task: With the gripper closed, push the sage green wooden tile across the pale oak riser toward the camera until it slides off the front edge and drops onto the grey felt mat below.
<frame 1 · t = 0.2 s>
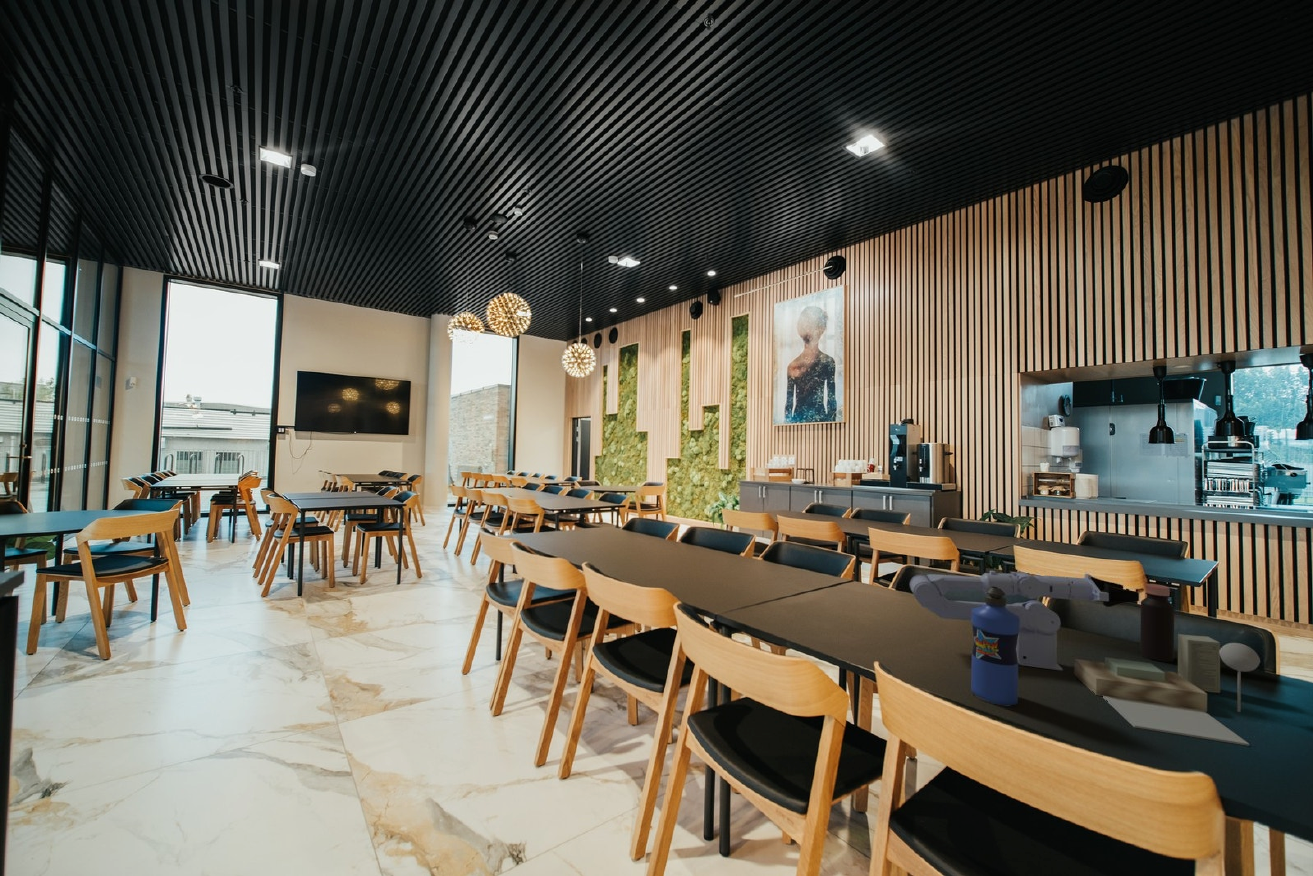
hand: (1130, 592, 134), 21 cm above the table, tool horizontal, fingers open, 7 cm apart
lollipop: (1238, 712, 116), on the table
tile: (1133, 673, 125), point 4 cm above the table, touching riser
water bottle: (993, 697, 120), on the table
riser: (1136, 692, 124), on the table
mat: (1169, 719, 112), on the table
skincare box: (1198, 688, 127), on the table
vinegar: (1156, 658, 146), on the table
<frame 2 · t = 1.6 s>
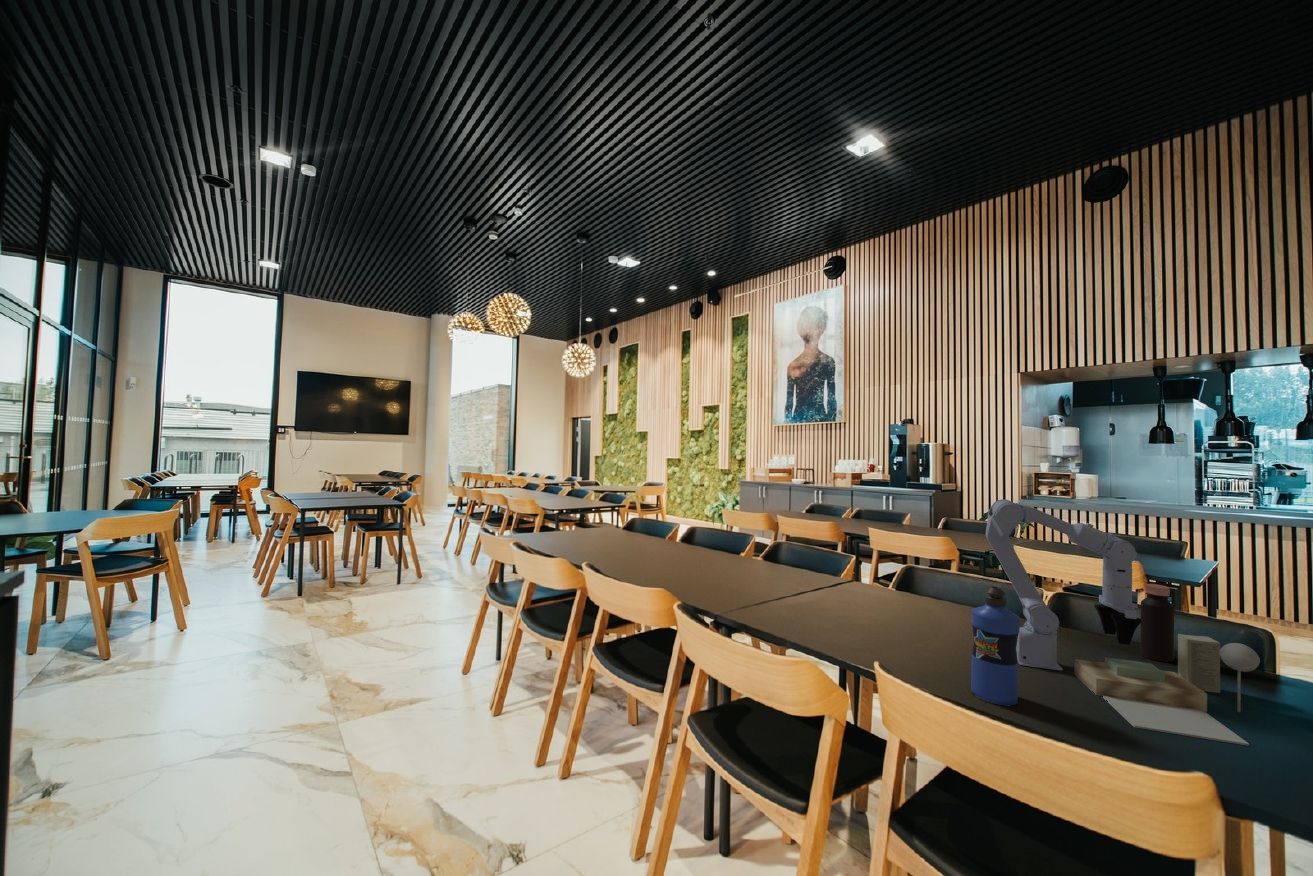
hand: (1116, 638, 133), 9 cm above the table, tool pointing down, fingers open, 7 cm apart
nothing on the table moved.
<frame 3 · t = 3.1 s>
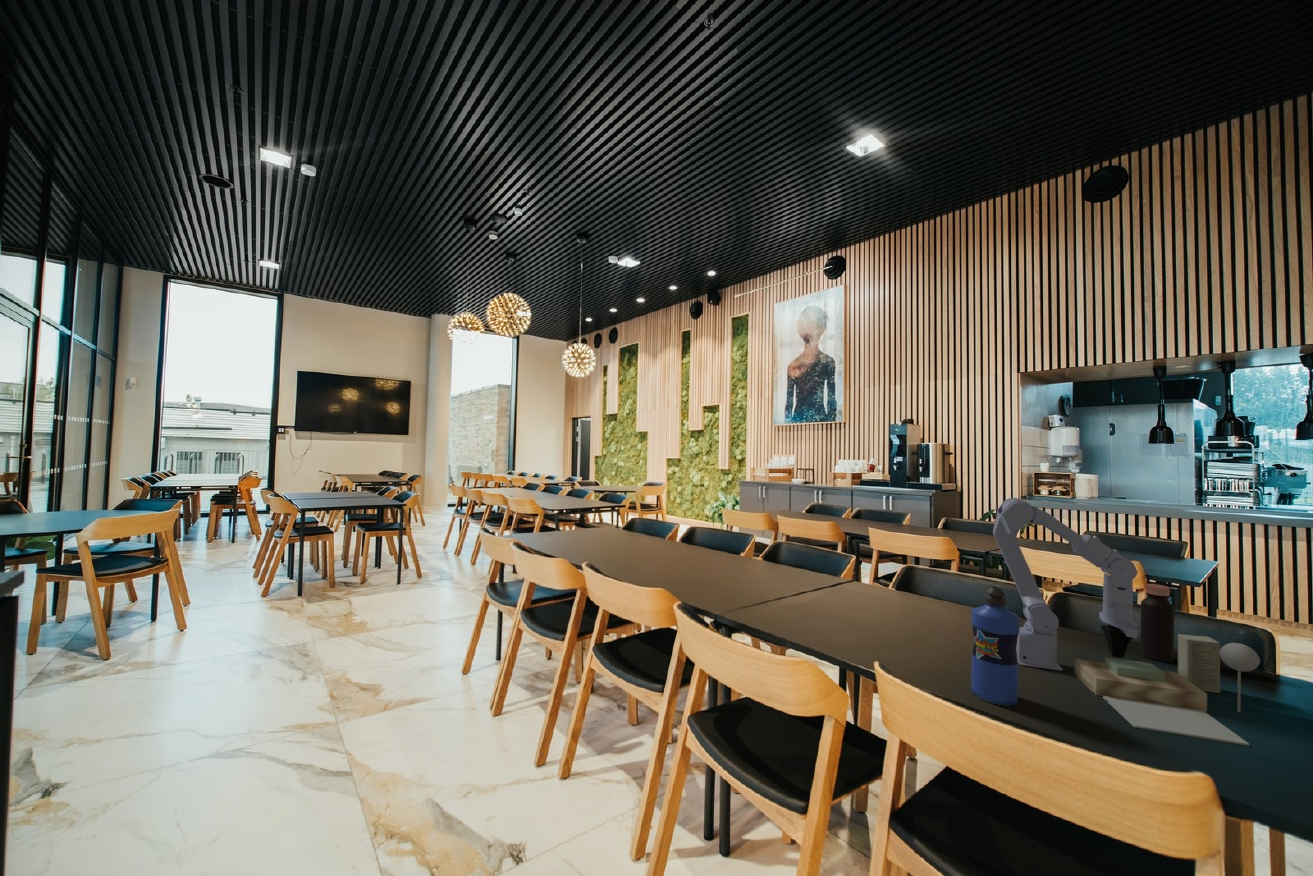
hand: (1117, 656, 133), 5 cm above the table, tool pointing down, fingers closed
nothing on the table moved.
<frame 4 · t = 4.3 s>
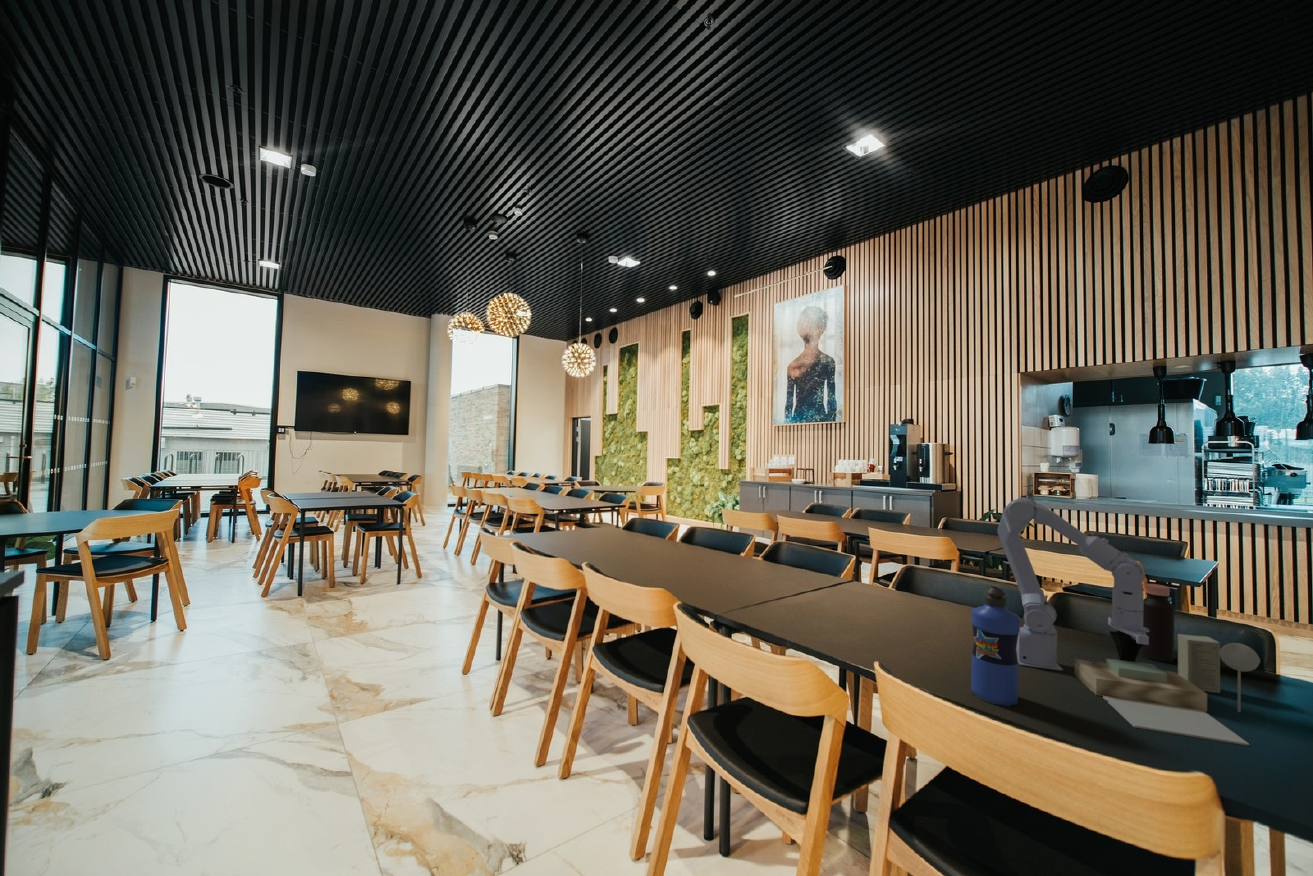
hand: (1127, 664, 128), 5 cm above the table, tool pointing down, fingers closed
tile: (1135, 674, 125), point 4 cm above the table, touching gripper, riser
everything else where it was.
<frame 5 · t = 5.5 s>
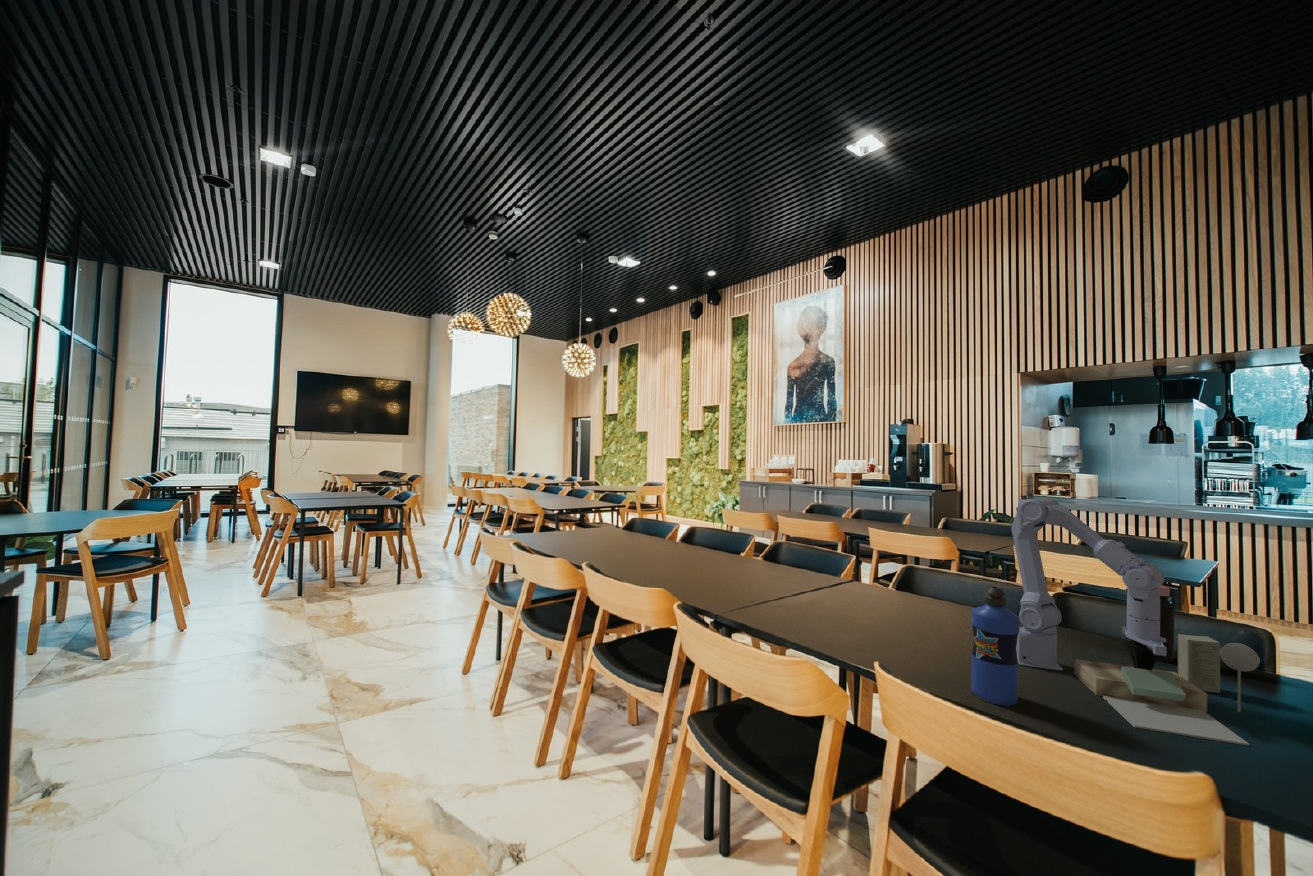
hand: (1142, 675, 122), 5 cm above the table, tool pointing down, fingers closed
tile: (1150, 686, 119), point 4 cm above the table, tilted 27°
everything else where it was.
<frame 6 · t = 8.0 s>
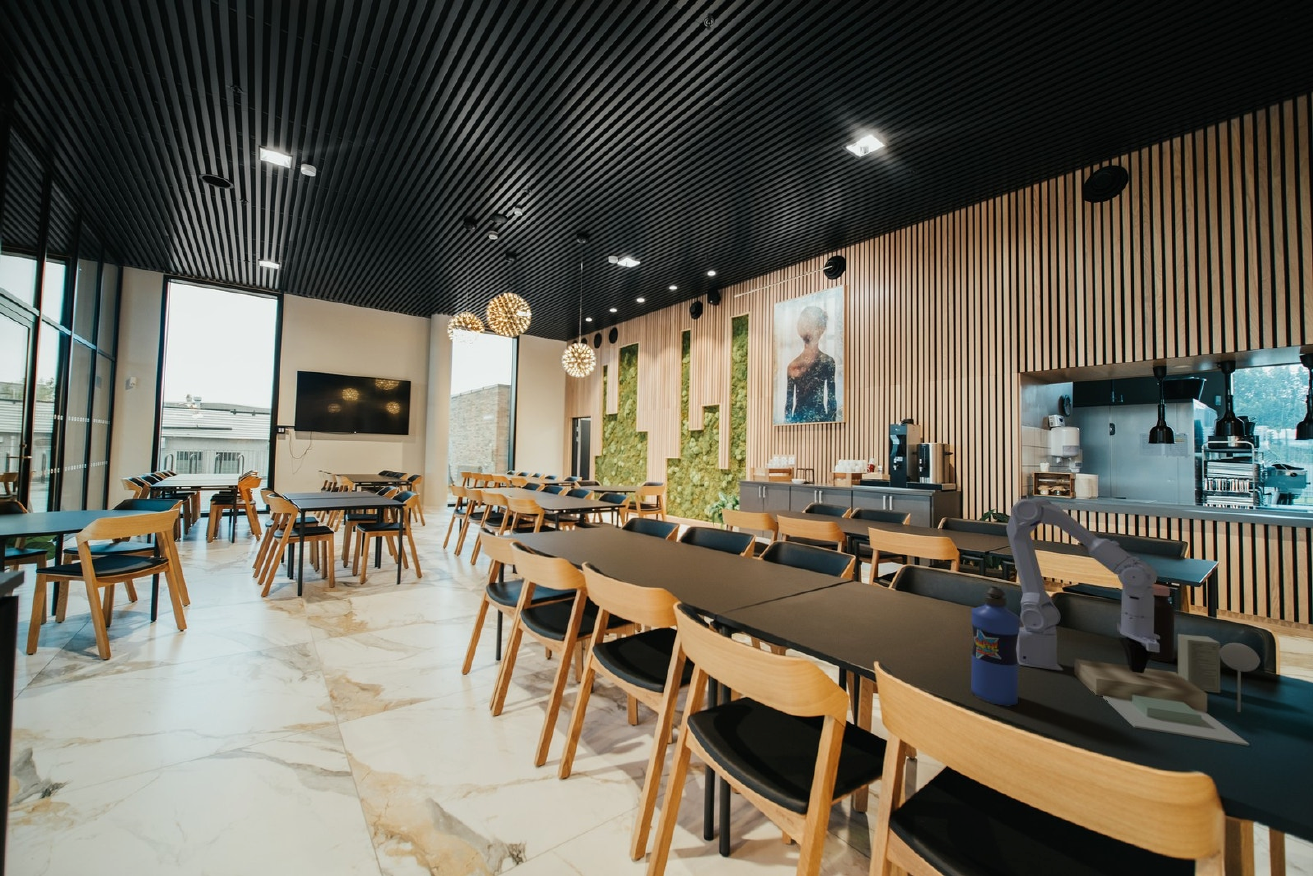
hand: (1136, 671, 124), 5 cm above the table, tool pointing down, fingers closed
tile: (1165, 705, 113), point 2 cm above the table, tilted 180°, touching mat
everything else where it was.
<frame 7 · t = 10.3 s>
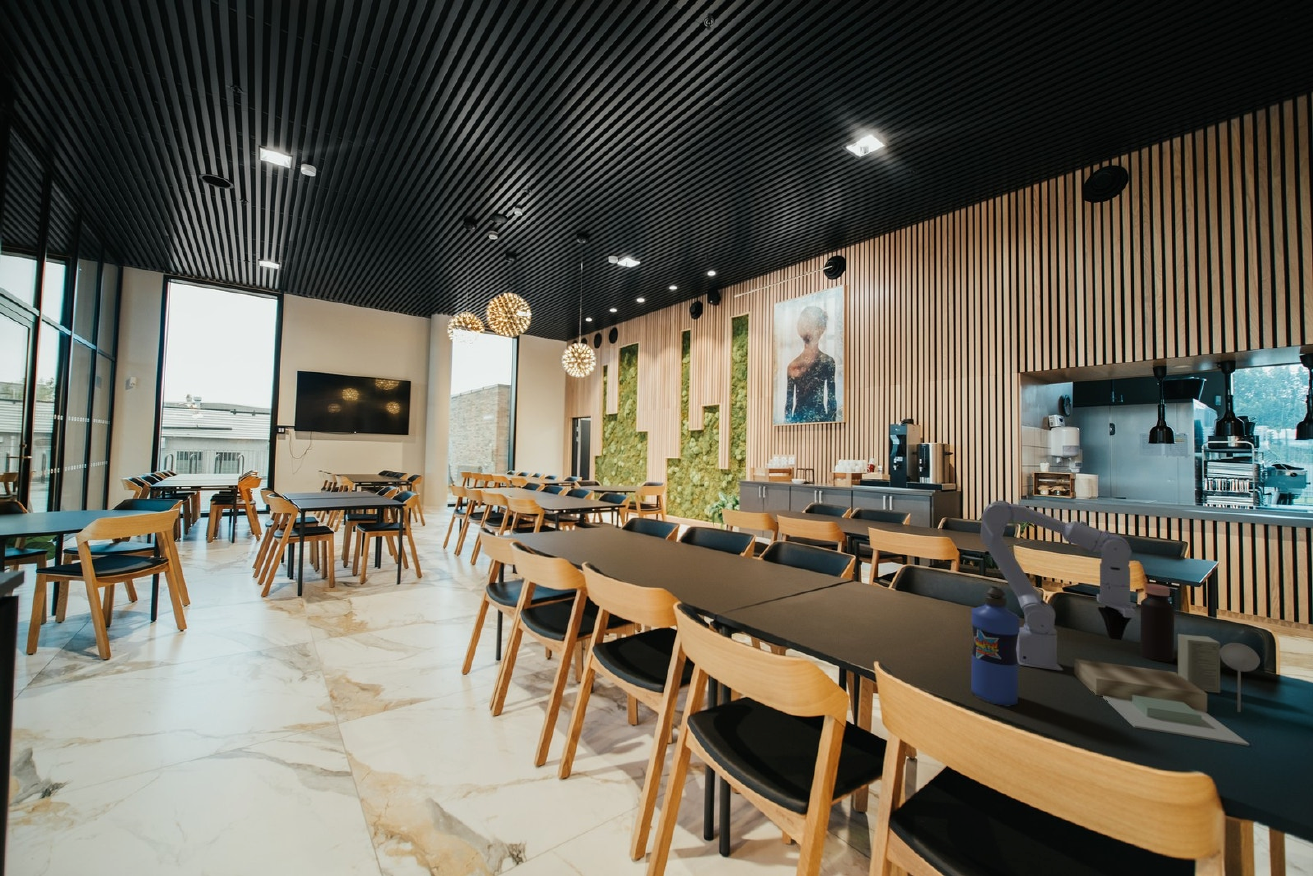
hand: (1115, 638, 131), 10 cm above the table, tool pointing down, fingers closed
nothing on the table moved.
at the end: tile point 2.4 cm above the table; tile inside the target area (1.5 cm from its centre), point 2.4 cm above the table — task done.
